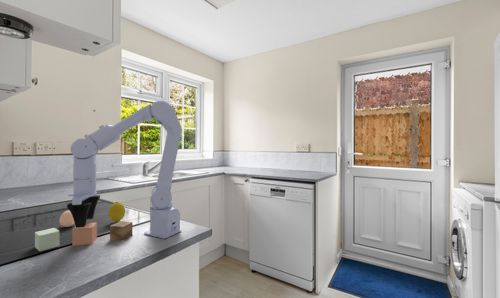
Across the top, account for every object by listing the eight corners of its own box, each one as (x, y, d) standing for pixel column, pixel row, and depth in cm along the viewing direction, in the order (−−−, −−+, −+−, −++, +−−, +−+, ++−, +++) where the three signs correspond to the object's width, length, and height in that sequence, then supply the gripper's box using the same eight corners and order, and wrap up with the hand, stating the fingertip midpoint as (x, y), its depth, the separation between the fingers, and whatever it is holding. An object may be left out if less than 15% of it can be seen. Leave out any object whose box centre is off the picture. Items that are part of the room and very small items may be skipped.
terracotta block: (96, 237, 76) (96, 222, 75) (92, 244, 71) (92, 227, 71) (78, 239, 74) (78, 223, 74) (72, 246, 69) (72, 229, 69)
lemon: (118, 225, 87) (117, 203, 87) (105, 224, 88) (105, 202, 88) (128, 220, 92) (128, 200, 92) (116, 219, 94) (116, 199, 93)
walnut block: (132, 235, 77) (132, 222, 77) (122, 241, 73) (122, 226, 73) (120, 234, 78) (120, 221, 78) (109, 240, 74) (109, 225, 74)
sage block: (59, 246, 69) (59, 231, 69) (39, 251, 66) (39, 235, 65) (54, 242, 72) (54, 227, 72) (35, 247, 68) (34, 232, 68)
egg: (57, 226, 85) (57, 210, 85) (75, 223, 89) (75, 207, 89) (61, 230, 82) (61, 213, 81) (78, 226, 85) (78, 210, 85)
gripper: (77, 175, 78) (77, 216, 78) (58, 182, 64) (58, 232, 64) (102, 175, 80) (102, 215, 80) (89, 181, 66) (89, 229, 66)
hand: (84, 222), depth 72 cm, fingers open, 7 cm apart
